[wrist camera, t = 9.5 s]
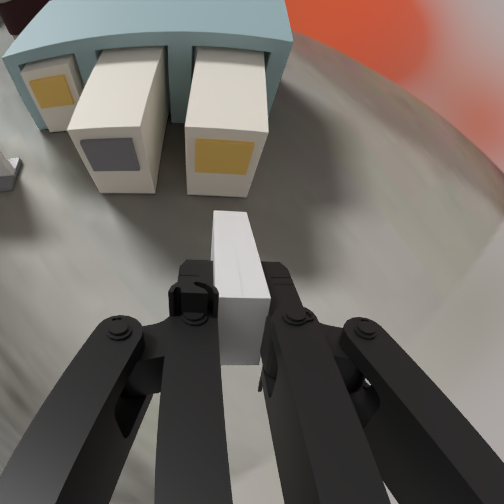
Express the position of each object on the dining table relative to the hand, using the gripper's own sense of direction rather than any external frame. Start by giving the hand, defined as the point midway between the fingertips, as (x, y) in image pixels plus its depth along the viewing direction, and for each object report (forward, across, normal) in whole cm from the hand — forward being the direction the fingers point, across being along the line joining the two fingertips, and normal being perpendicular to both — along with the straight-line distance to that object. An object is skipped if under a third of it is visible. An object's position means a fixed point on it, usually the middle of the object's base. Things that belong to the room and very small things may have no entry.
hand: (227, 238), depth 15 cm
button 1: (+17, -14, +7) cm, 23 cm away
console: (+17, -7, +7) cm, 20 cm away
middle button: (+12, -7, +3) cm, 14 cm away
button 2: (+12, 0, +3) cm, 13 cm away
